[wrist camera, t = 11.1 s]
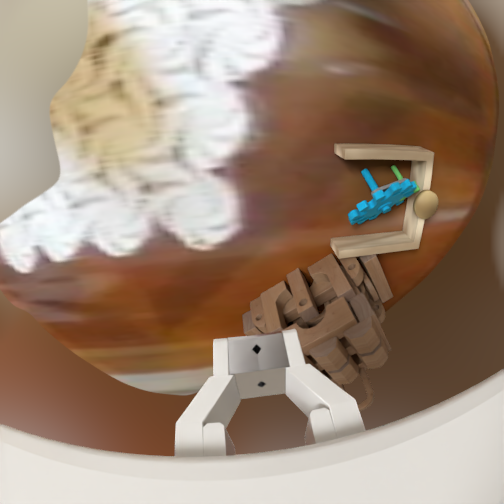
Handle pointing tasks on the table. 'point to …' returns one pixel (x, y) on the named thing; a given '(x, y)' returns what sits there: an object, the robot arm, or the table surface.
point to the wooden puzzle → (331, 317)
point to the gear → (382, 197)
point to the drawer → (416, 208)
